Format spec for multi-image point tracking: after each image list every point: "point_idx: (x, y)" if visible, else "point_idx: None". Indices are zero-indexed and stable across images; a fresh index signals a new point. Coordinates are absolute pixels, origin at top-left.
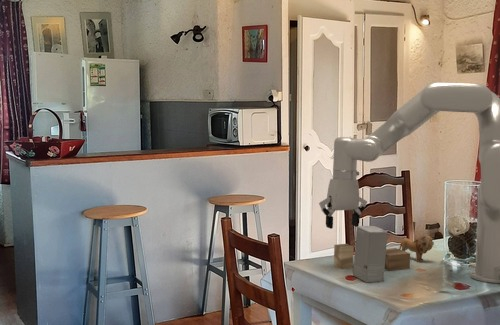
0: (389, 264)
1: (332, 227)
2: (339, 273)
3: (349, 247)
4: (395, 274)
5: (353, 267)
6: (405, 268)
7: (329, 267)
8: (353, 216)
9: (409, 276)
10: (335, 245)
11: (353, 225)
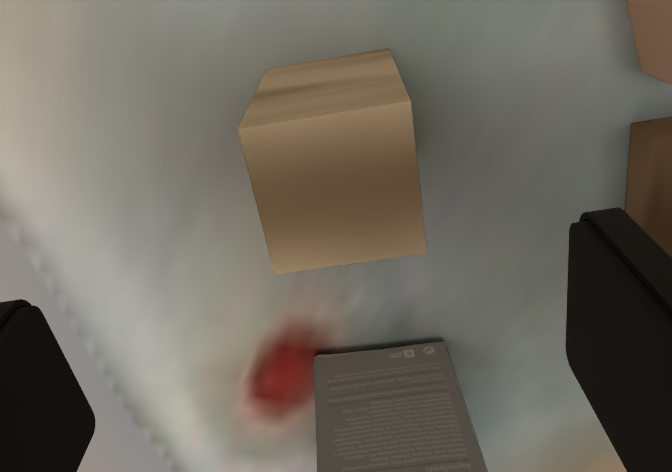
0: None
1: (87, 436)
2: (243, 287)
3: (378, 256)
4: None
5: (315, 390)
6: None
7: (209, 126)
8: (661, 394)
9: None
10: (245, 156)
11: (568, 273)
